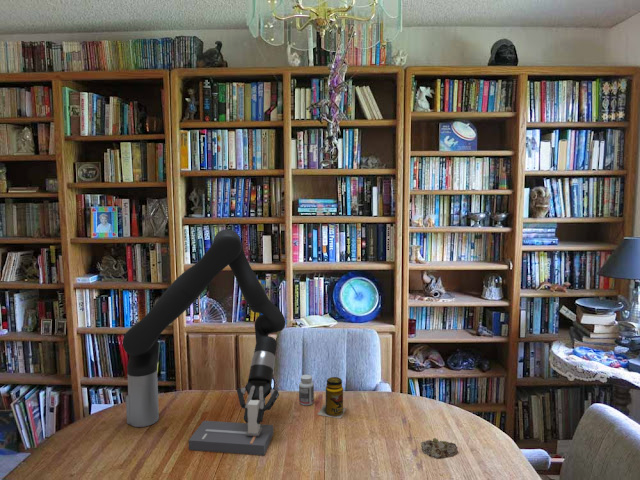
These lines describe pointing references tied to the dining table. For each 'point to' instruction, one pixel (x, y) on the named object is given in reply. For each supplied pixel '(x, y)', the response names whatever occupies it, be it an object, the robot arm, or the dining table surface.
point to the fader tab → (253, 418)
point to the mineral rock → (438, 448)
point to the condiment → (333, 399)
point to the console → (230, 438)
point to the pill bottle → (306, 390)
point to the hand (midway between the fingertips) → (252, 422)
